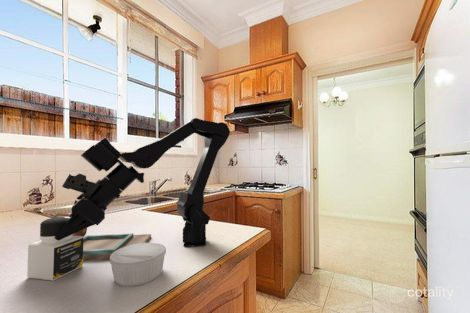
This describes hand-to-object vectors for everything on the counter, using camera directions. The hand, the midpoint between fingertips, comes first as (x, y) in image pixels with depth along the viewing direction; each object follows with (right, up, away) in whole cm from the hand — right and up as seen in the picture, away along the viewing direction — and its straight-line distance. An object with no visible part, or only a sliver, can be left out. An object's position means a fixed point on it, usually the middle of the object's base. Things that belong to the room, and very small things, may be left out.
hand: (58, 235), depth 50 cm
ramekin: (+19, -8, -2) cm, 21 cm away
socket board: (+3, -9, +14) cm, 17 cm away
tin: (-15, -10, +23) cm, 29 cm away
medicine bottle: (0, -8, 0) cm, 8 cm away
